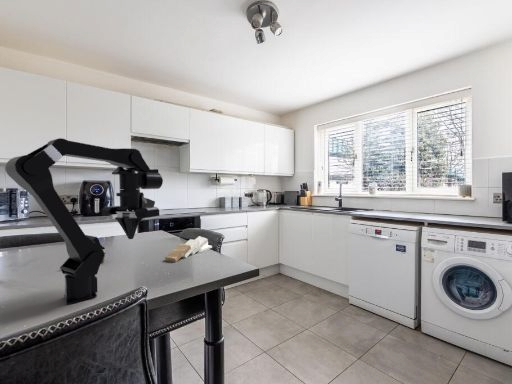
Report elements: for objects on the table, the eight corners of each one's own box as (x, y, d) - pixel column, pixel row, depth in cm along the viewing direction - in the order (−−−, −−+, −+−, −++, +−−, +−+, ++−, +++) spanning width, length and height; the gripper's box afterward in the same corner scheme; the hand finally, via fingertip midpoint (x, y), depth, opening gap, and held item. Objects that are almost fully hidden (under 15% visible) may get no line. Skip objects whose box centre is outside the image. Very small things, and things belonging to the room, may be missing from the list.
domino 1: (175, 258, 98) (190, 244, 107) (164, 257, 100) (180, 243, 109) (175, 262, 99) (191, 248, 107) (165, 260, 101) (181, 247, 109)
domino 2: (185, 254, 104) (199, 240, 112) (175, 253, 106) (190, 239, 114) (186, 257, 104) (200, 243, 112) (176, 256, 106) (191, 242, 115)
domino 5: (198, 250, 113) (212, 245, 122) (189, 249, 115) (203, 244, 124) (198, 254, 113) (212, 248, 122) (189, 252, 115) (203, 247, 124)
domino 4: (199, 246, 114) (208, 241, 124) (189, 246, 115) (198, 241, 124) (199, 250, 114) (208, 244, 124) (189, 249, 115) (198, 244, 125)
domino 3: (192, 252, 108) (207, 238, 116) (183, 248, 111) (199, 236, 118) (193, 254, 109) (208, 241, 117) (184, 251, 111) (199, 238, 119)
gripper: (171, 188, 83) (172, 236, 84) (129, 189, 90) (130, 232, 91) (144, 189, 73) (145, 243, 73) (100, 189, 80) (101, 238, 81)
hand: (130, 238), depth 80 cm, fingers closed
